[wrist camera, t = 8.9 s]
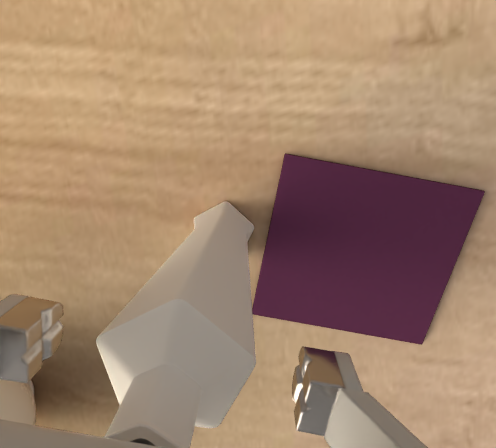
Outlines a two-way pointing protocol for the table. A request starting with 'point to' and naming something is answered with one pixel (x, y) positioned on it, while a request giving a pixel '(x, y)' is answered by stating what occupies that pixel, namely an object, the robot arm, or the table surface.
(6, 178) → the table surface
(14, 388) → the trinket box
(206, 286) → the white faceted vase
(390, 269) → the cloth
